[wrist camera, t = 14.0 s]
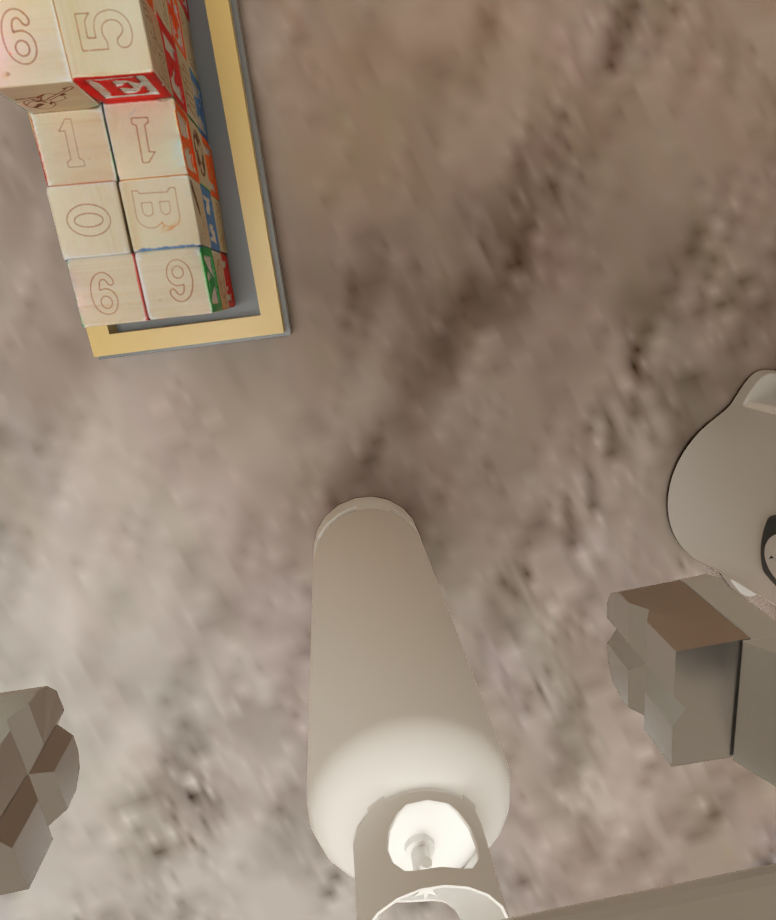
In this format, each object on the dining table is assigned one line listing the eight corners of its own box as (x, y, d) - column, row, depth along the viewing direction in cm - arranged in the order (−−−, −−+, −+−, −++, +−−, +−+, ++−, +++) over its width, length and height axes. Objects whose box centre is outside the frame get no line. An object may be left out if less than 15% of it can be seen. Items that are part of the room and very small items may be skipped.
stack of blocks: (239, 308, 36) (201, 321, 25) (137, 318, 36) (49, 336, 24) (169, -119, 30) (72, -374, 18) (43, -113, 30) (-140, -372, 18)
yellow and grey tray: (208, -182, 31) (194, -237, 28) (292, 332, 39) (289, 337, 36) (-26, -166, 30) (-69, -222, 27) (110, 355, 38) (90, 362, 35)
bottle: (424, 498, 44) (585, 836, 17) (414, 594, 46) (541, 1023, 19) (316, 494, 43) (309, 845, 16) (311, 592, 45) (296, 1041, 18)
